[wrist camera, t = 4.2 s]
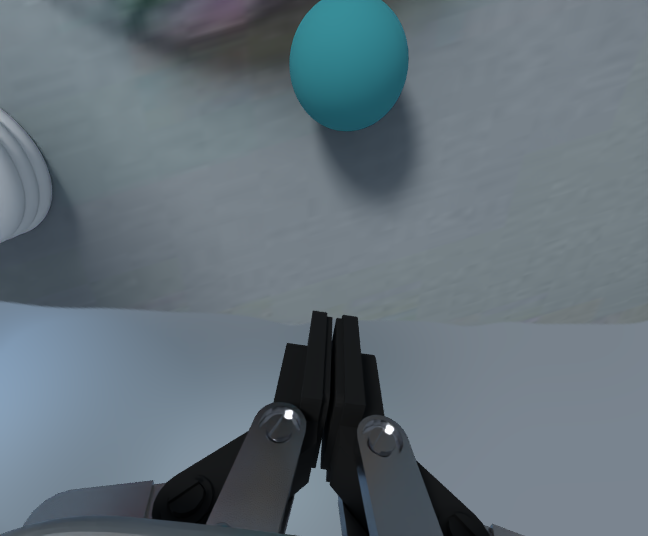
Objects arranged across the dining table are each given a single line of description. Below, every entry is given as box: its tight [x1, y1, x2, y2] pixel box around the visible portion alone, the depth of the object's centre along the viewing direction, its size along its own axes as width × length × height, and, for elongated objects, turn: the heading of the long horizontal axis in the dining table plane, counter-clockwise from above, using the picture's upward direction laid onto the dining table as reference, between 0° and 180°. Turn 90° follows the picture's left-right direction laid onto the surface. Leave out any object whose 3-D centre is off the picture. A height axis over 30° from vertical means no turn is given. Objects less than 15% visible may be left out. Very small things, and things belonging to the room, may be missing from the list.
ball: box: [290, 0, 409, 131], centre depth 16 cm, size 6×6×6 cm
